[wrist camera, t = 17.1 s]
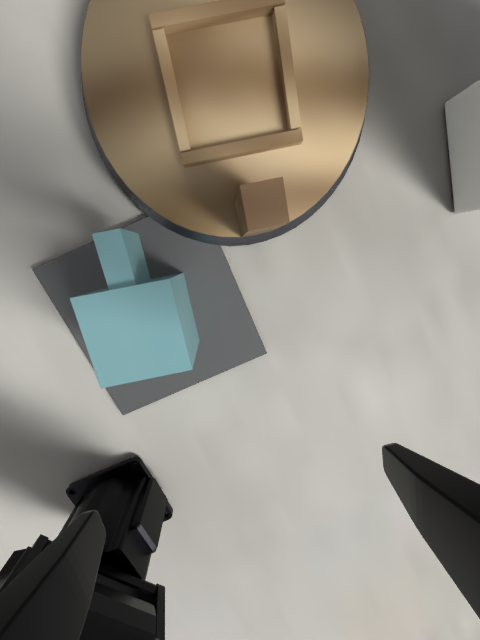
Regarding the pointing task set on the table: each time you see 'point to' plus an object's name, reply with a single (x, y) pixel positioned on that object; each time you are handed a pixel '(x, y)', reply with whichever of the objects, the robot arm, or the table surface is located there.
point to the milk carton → (465, 147)
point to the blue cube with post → (135, 316)
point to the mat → (205, 297)
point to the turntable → (226, 104)
